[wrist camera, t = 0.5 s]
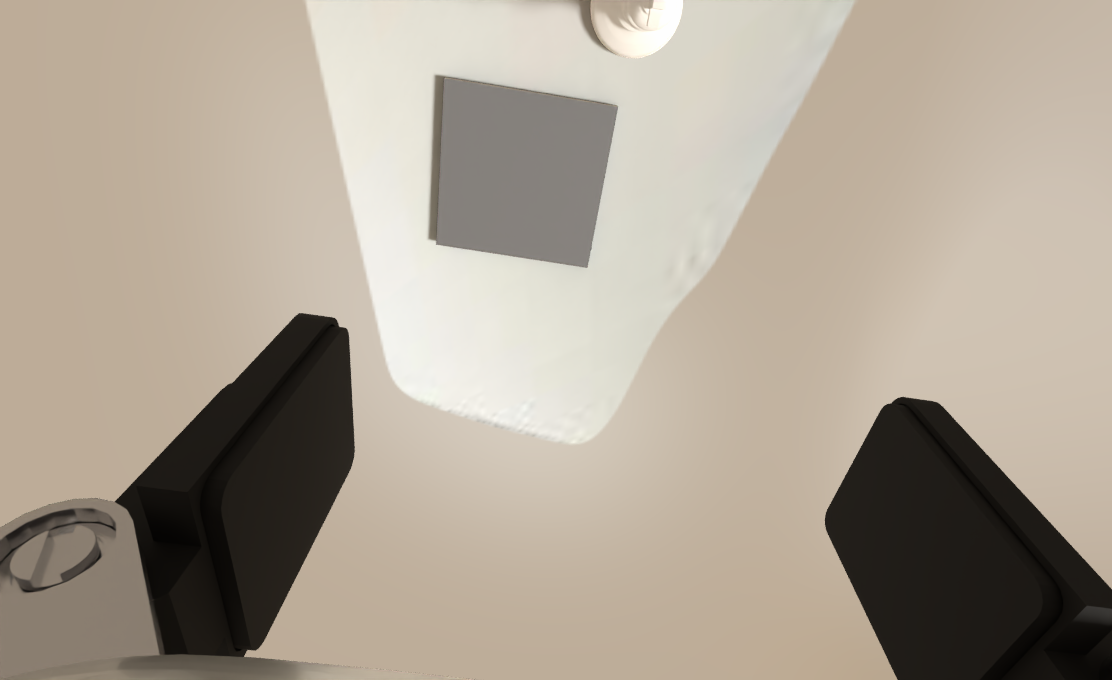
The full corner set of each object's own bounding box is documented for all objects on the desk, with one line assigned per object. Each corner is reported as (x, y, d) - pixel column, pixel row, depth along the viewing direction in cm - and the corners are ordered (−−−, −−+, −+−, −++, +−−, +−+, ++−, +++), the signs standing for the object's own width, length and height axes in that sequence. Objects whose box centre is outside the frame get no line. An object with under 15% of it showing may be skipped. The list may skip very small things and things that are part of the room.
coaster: (446, 77, 32) (444, 78, 32) (617, 105, 33) (617, 107, 32) (438, 241, 37) (436, 244, 37) (587, 264, 38) (587, 267, 37)
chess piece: (583, 51, 32) (586, 63, 23) (598, -55, 29) (607, -87, 20) (670, 64, 32) (705, 81, 23) (692, -41, 29) (740, -66, 21)
